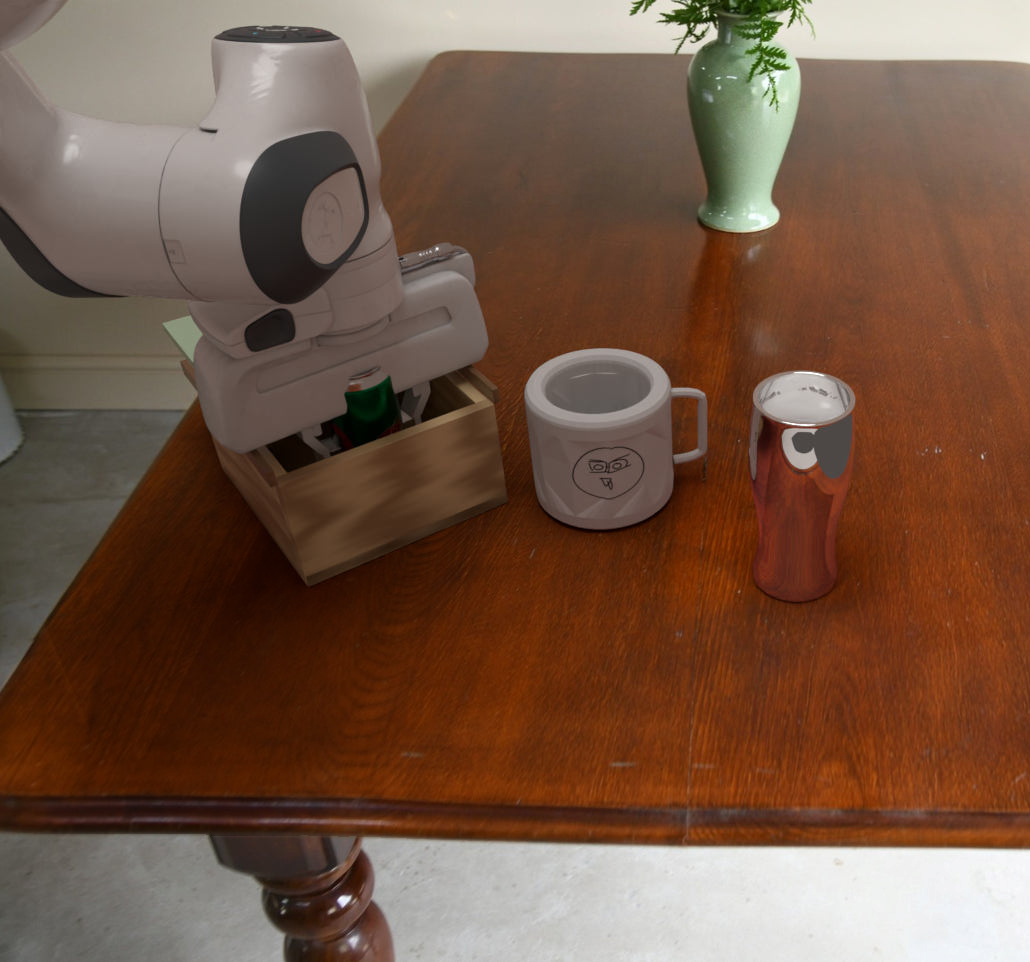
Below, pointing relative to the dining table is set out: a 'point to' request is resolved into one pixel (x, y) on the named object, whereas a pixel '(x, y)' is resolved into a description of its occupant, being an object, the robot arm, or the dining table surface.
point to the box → (376, 481)
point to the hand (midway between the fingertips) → (370, 449)
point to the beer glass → (799, 479)
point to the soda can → (367, 411)
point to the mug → (605, 436)
